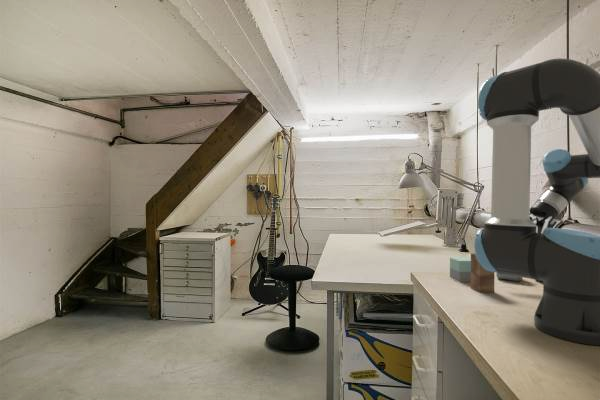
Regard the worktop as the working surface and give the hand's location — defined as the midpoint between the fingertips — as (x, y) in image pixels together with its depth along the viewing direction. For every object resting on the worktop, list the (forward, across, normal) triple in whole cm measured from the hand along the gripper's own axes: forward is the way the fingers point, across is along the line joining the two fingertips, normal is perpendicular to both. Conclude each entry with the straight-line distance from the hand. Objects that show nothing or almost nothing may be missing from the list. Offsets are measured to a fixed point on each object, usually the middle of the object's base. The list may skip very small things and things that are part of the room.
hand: (505, 252), depth 110 cm
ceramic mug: (+1, +14, -17) cm, 22 cm away
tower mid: (+11, +14, -2) cm, 18 cm away
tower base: (+14, +14, -4) cm, 20 cm away
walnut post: (+15, -1, -3) cm, 15 cm away
